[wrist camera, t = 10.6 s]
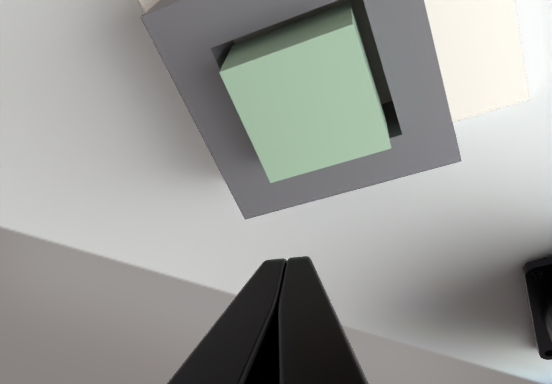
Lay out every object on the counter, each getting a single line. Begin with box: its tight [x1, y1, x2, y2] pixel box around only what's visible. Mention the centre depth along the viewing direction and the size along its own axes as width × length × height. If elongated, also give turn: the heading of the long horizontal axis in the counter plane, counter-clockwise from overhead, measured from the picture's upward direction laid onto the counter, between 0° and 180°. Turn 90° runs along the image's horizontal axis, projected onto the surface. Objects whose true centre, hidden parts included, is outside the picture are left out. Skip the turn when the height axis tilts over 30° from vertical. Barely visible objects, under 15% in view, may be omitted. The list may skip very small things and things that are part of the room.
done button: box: [219, 2, 391, 183], centre depth 16 cm, size 4×4×2 cm
